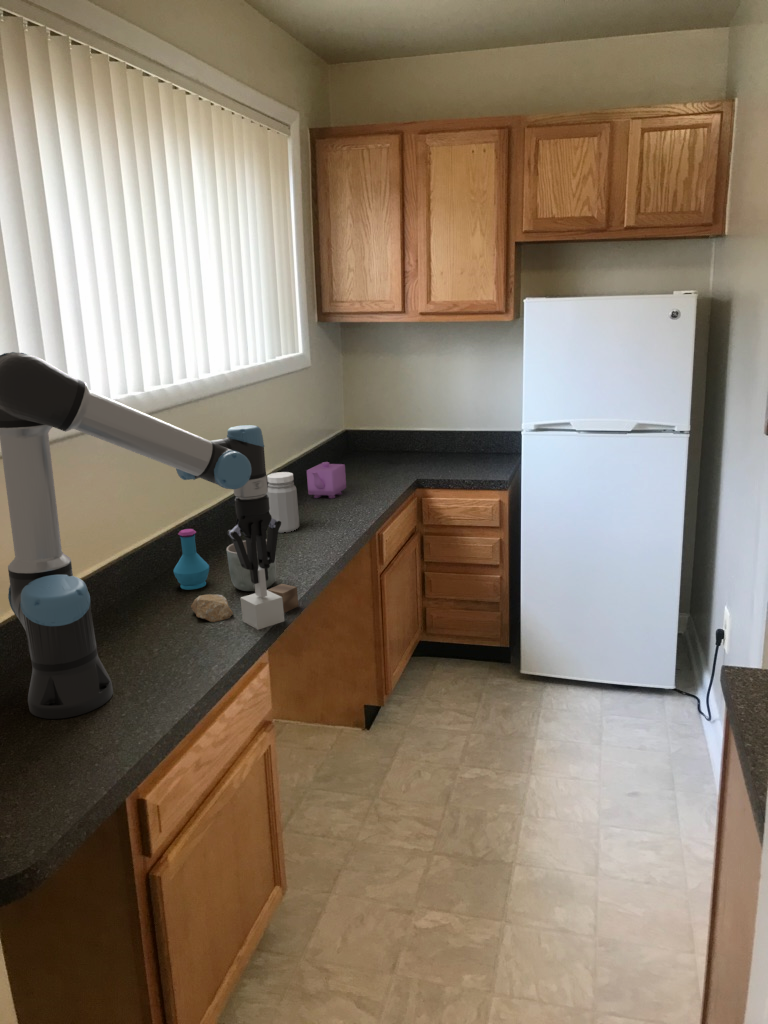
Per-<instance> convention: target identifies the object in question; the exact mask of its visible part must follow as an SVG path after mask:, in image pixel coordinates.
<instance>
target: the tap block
mask: <svg viewBox="0 0 768 1024" xmlns="http://www.w3.org/2000/svg"><path fill="white" fill-rule="evenodd" d="M239 600H240V607H241V616H242V617H241V618H242V622H243V623H245V624H246V625H249V626H250V627H252V628H254V629H256V630H262V629H264V628H268V627H271V626H274V625H277V624H280V623H284V622H285V613H284V610H283V599H282V597H281V596H279V595H277V594H274V593H272V592H270V591H268V589H267V596H265V597H262V598H261V597H259V596H257V595H256V594H255V592H254V593H251V594H249V595H244V596H241V597H240V599H239Z"/></svg>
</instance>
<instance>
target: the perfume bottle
mask: <svg viewBox="0 0 768 1024" xmlns="http://www.w3.org/2000/svg"><path fill="white" fill-rule="evenodd" d="M196 534H197V531H196V530H194V528H185V529H181V530H180V531H179V532H177V535H179V539H180V543H181V544H180V545H181V550H182V551H181V553H182V554H181V557H180V558H179V560H178V562H177V563H176V565H175V566H174V568H173V575H174V577H175V578H176V579H177V582H178V584H180V588H181V589H182V590H186V591H187V590H188V591H190V590H191V591H192V590H198V589H201V588H203V587H205V586H206V585H207V582H206V580H207V579H208V576H209V572H210V564H208V563H207V561H205V560H204V558H203V557H201V556H200V554H199V553H197V547H196Z"/></svg>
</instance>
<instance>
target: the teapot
mask: <svg viewBox="0 0 768 1024" xmlns="http://www.w3.org/2000/svg"><path fill="white" fill-rule="evenodd" d="M306 479H307V482H306V483H307V491H308V494H307V495H309V496H313V498H314V499H317V498H318V499H319V498H321V497H322V496H328V499H336V495H337V496H338V495H339V496H340V495H342V494H343V493H342V492H343V491H345V489H347V480H346V479H347V477H346V465H345V463H344V464H342V463H330V462H328V461H324V462H321V463H318V464H317V465H315V466H313V467H311V468H309V469H306Z"/></svg>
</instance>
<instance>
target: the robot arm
mask: <svg viewBox="0 0 768 1024" xmlns="http://www.w3.org/2000/svg"><path fill="white" fill-rule="evenodd" d="M52 428H55V429H58V430H60V431H62V432H68V431H71V430H75V431H78V432H81V433H84V434H86V435H89V436H91V437H94V438H97V439H98V440H99V439H100V440H101V441H104V442H107V443H110V444H112V445H114V446H117V447H120V448H123V449H125V450H128V451H129V452H130V451H131V452H133V453H135V454H138V455H140V456H143V457H145V458H148V459H151V460H154V461H156V462H159V463H161V464H163V465H167V466H169V467H171V468H174V469H175V470H176V473H177V475H178V477H179V478H180V479H181V480H183V481H187V480H190V481H191V480H193V481H195V480H196V479H202V480H204V481H207V482H210V483H213V484H215V485H217V486H219V487H221V488H224V489H226V490H232V491H233V495H234V496H235V498H234V507H235V508H234V509H235V514H236V521H235V526H234V527H233V528H232V529H228V530H227V531H226V534H227V536H229V538H230V539H231V541H232V544H234V547H235V550H236V552H237V555H238V558H239V561H240V564H241V566H242V567H243V568H245V569H247V570H250V576H251V582H252V583H254V584H255V591H254V593H255V594H256V595H257V596H259V597H261V598H262V597H265V596H267V590H268V589H267V588H266V581H267V580H268V568H269V567H270V565H269V564H271V563H274V562H275V554H276V553H277V545H278V544H277V543H278V536H279V533H278V530H279V528H280V526H281V521H278V520H275V519H273V518H272V516H271V514H270V513H269V510H270V506H269V496H268V495H267V492H268V487H269V486H268V480H267V470H266V457H265V454H266V453H265V444H264V436H263V432H262V429H261V428H260V427H259V426H257V425H255V424H252V425H251V424H246V425H245V424H244V425H236V426H231V427H229V428H228V429H227V430H226V431H227V434H226V437H224V438H221V439H213V440H209V439H207V438H205V437H201V436H200V435H197V434H194V433H192V432H190V431H187V430H185V429H183V428H180V427H178V426H176V425H173V424H172V423H168V422H166V421H164V420H162V419H160V418H157V417H154V416H151V415H149V414H148V413H145V412H142V411H140V410H139V409H135V408H132V407H130V406H128V405H126V404H124V403H121V402H120V401H116V400H114V399H111V398H109V397H107V396H105V395H102V394H100V393H97V392H95V391H93V390H91V389H89V387H88V383H87V382H85V381H83V380H80V379H78V378H76V377H74V376H71V375H70V374H69V373H66V372H64V371H63V370H61V369H59V368H57V367H56V366H54V365H53V364H51V363H49V362H47V361H46V360H44V359H42V358H40V357H39V356H36V355H31V354H28V353H24V352H15V351H12V352H5V353H2V354H0V451H1V459H2V465H3V473H4V480H5V489H6V497H7V503H8V511H9V520H10V528H11V534H12V542H13V551H14V558H13V560H12V561H11V562H10V563H9V564H8V565H7V570H8V579H9V587H8V595H7V597H8V598H7V599H8V603H9V607H10V609H11V611H12V612H13V614H14V615H15V616H16V617H17V619H18V620H19V622H20V624H21V625H22V627H23V629H24V630H25V634H26V637H27V638H26V639H27V645H28V651H29V655H30V661H31V666H32V668H31V669H32V671H31V672H32V673H31V678H30V683H29V687H28V688H29V689H28V695H27V704H28V709H29V712H30V714H31V715H33V716H35V717H37V718H41V719H46V720H47V719H48V720H50V719H51V720H52V719H53V720H58V719H67V718H72V717H77V716H80V715H85V714H87V713H90V712H93V711H94V710H96V709H98V708H100V707H102V706H104V705H105V704H106V703H108V701H110V700H111V698H112V697H113V695H114V689H113V683H112V678H111V677H110V675H109V674H108V672H107V670H106V668H105V666H104V664H103V662H102V661H101V659H100V657H99V655H98V647H97V641H96V634H95V627H94V622H93V621H94V620H93V614H92V608H91V607H92V606H91V596H90V595H91V594H90V593H89V591H88V587H87V584H86V582H85V581H84V580H82V579H81V578H79V577H78V576H75V575H74V574H73V573H74V572H73V566H72V559H71V557H70V556H69V555H67V554H65V553H64V552H63V550H62V549H63V548H62V542H61V540H62V539H61V531H60V523H59V514H58V505H57V497H56V490H55V489H56V488H55V481H54V472H53V464H52V463H53V462H52V454H51V445H50V437H49V436H50V435H49V432H50V431H51V429H52ZM242 534H243V535H244V536H243V537H244V540H243V539H242V537H241V536H242ZM245 540H246V547H247V553H246V550H245V547H244V544H243V541H245ZM266 540H267V544H266ZM256 546H257V548H256ZM257 555H258V558H257ZM258 564H259V565H260V567H259V566H258Z"/></svg>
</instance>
